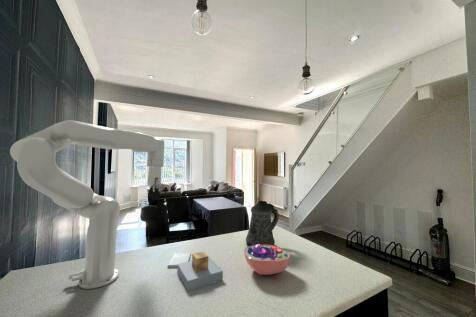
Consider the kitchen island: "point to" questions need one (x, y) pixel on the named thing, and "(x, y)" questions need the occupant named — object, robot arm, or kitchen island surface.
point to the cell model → (266, 259)
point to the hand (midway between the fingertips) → (154, 198)
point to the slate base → (199, 275)
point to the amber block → (200, 261)
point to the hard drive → (178, 259)
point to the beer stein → (262, 224)
